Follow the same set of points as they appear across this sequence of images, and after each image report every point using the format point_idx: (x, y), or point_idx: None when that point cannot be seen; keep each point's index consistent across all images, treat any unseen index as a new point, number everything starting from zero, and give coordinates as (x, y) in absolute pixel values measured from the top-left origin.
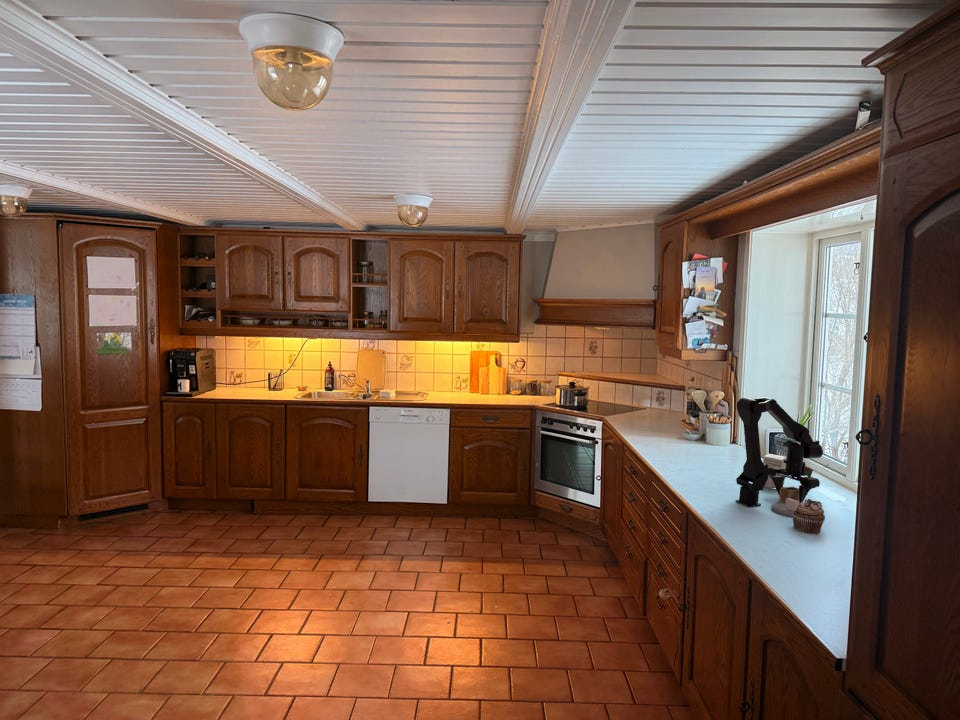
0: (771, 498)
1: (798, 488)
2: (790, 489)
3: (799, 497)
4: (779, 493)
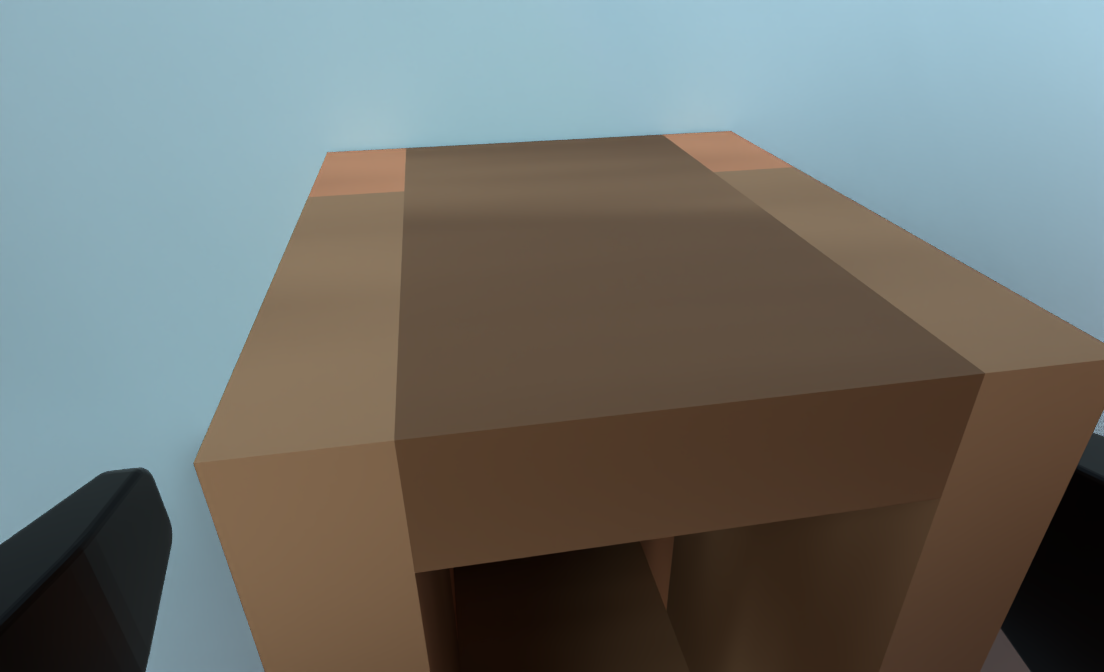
0: (199, 645)
1: (806, 413)
2: (434, 607)
3: None
4: (151, 597)
